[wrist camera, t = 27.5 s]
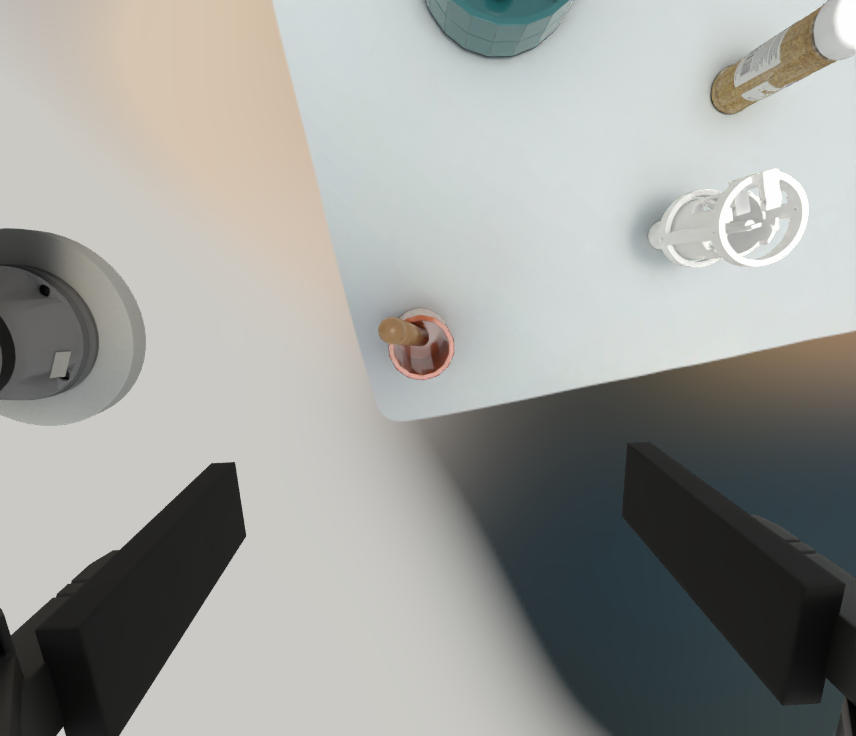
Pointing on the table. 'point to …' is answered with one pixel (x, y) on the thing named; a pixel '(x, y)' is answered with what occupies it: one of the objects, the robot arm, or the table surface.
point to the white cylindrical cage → (732, 222)
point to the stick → (402, 332)
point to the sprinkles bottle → (788, 57)
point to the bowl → (498, 23)
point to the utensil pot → (424, 347)
